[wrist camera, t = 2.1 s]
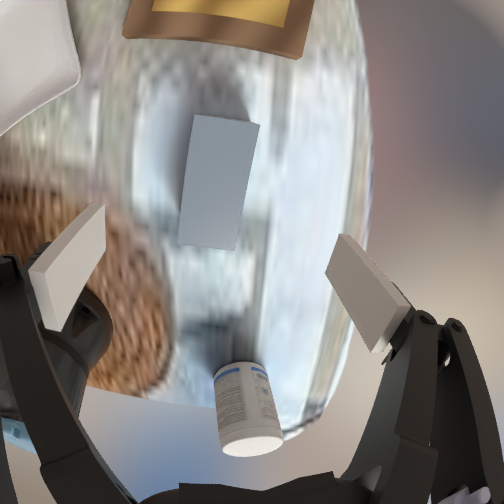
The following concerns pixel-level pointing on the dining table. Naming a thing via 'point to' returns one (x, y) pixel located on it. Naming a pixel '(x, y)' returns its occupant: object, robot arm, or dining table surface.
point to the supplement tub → (246, 410)
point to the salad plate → (34, 57)
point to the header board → (225, 23)
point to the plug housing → (216, 181)
